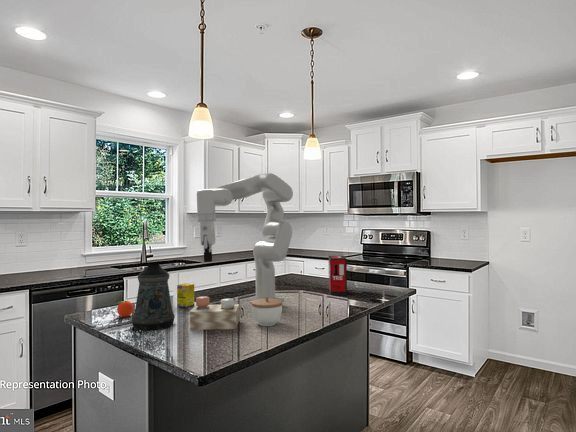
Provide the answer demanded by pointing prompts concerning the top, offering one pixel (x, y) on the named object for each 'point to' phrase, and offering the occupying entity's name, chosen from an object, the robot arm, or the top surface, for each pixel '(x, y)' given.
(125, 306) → the clementine
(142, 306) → the beer stein
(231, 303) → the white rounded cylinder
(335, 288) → the cleaning product box
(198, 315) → the button box
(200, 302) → the terracotta button
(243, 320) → the top surface
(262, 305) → the lidded bowl
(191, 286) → the supplement box
